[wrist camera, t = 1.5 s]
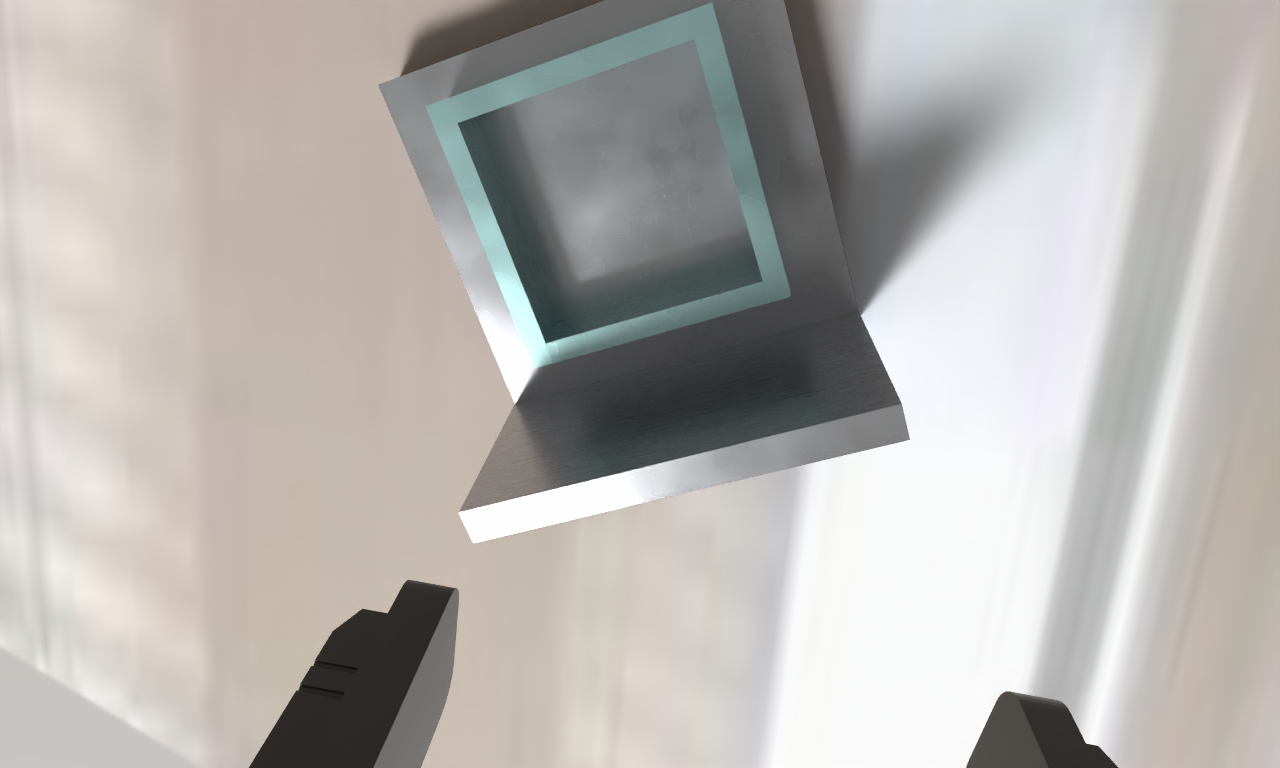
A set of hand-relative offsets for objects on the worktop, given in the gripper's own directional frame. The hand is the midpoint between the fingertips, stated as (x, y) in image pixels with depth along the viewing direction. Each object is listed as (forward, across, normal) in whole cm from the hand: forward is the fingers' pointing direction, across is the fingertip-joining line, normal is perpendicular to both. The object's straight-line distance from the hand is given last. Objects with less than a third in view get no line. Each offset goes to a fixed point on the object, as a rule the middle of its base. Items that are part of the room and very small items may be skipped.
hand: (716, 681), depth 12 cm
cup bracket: (+22, +3, -2) cm, 23 cm away
